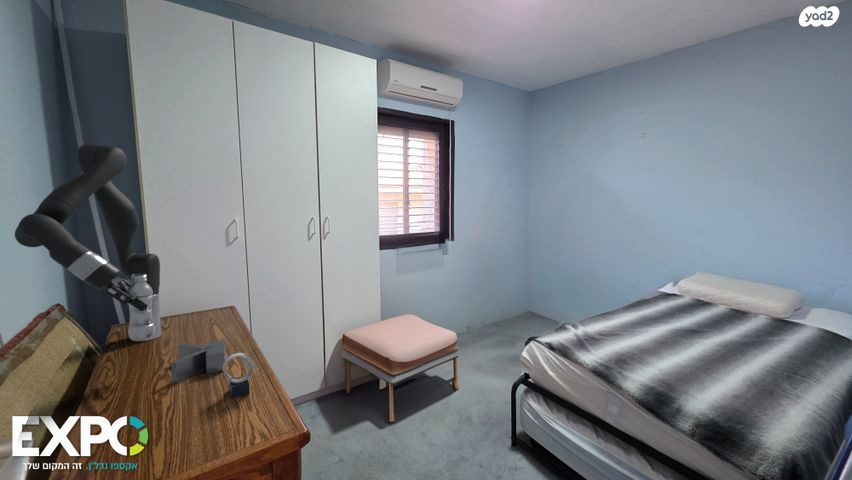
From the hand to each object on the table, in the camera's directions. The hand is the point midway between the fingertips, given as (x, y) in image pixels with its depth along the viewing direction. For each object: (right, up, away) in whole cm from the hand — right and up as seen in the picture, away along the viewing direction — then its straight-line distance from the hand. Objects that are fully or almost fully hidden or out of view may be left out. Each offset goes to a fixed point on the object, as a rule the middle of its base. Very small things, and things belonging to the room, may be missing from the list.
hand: (147, 305), depth 111 cm
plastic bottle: (-2, -11, 0) cm, 11 cm away
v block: (+13, -21, +6) cm, 25 cm away
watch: (+33, -23, -9) cm, 41 cm away
